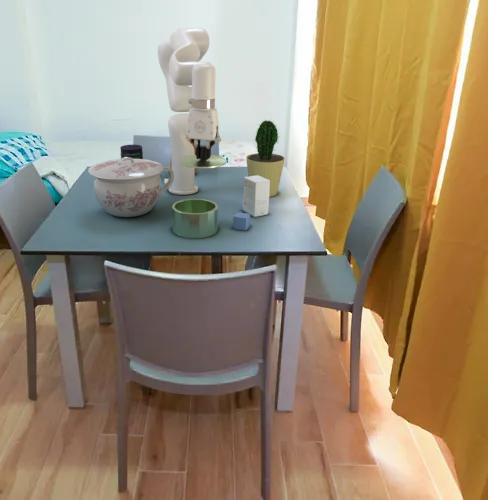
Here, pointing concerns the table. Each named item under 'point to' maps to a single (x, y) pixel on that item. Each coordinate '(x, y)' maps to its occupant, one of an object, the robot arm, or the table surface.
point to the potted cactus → (266, 156)
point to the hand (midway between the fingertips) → (203, 158)
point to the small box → (256, 195)
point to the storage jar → (132, 151)
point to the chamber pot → (129, 185)
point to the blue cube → (241, 221)
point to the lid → (202, 160)
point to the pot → (195, 218)
